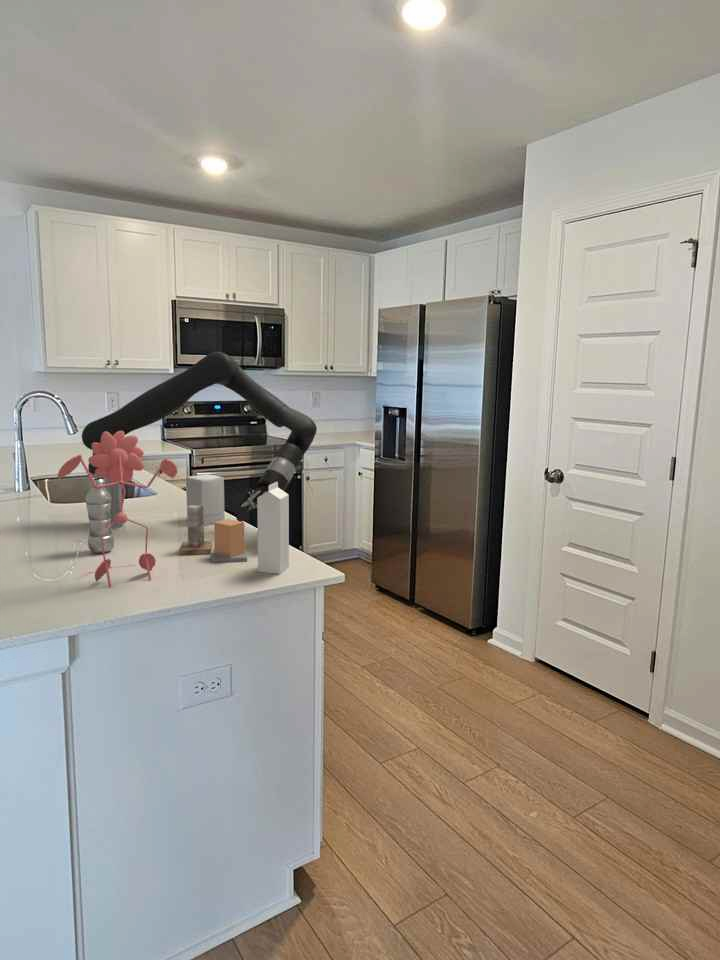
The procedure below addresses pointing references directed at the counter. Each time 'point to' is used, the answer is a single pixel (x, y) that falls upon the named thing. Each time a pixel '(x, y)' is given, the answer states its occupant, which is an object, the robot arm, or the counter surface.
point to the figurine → (118, 481)
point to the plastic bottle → (99, 517)
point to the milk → (273, 530)
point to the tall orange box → (229, 537)
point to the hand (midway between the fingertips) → (249, 523)
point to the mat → (228, 559)
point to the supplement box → (207, 496)
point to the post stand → (195, 533)
